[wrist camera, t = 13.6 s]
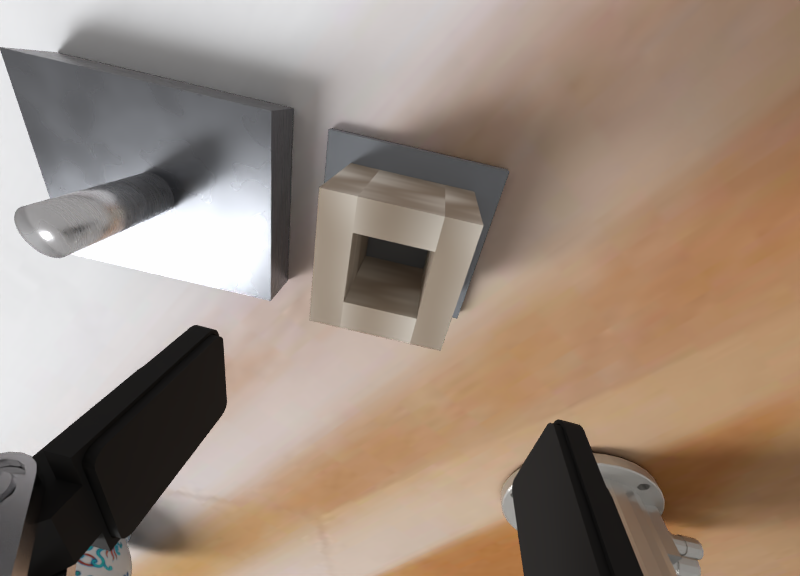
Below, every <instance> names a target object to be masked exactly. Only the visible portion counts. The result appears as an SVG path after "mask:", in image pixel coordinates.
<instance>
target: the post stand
mask: <svg viewBox="0 0 800 576" xmlns="http://www.w3.org/2000/svg"><path fill="white" fill-rule="evenodd" d="M0 50H1V53H2V56H3V59H4V62H5V65H6V68H7V71H8V74H9V77H10V80H11V83H12V86H13V89H14V92H15V95H16V98H17V101H18V104H19V107H20V110H21V113H22V116H23V119H24V122H25V125H26V128H27V131H28V134H29V137H30V140H31V143H32V146H33V149H34V152H35V155H36V158H37V161H38V164H39V167H40V169H41V172H42V175H43V178H44V181H45V184H46V187H47V190H48V193H49V196H50V199H48V200H44V201H41V202H37V203H33V204H30V205H26V206H23V207H20V208H18V209H17V211H16V212H15V216H14V220H15V224H16V227H17V229H18V231H19V233H20V234H21V236H22V237H23V238H24V240H25V241H26V242H27V243H28V244H29V245H31V246H32V247H33V248H34V249H36V250H37V251H39V252H40V253H42V254H44V255H47V256H50V257H54V258H62V257H65V256H67V255H69V254H72V255H77V256H81V257H85V258H90V259H94V260H98V261H102V262H107V263H111V264H115V265H119V266H124V267H128V268H132V269H137V270H141V271H145V272H149V273H154V274H158V275H162V276H166V277H171V278H175V279H179V280H183V281H188V282H192V283H196V284H201V285H205V286H209V287H213V288H218V289H222V290H226V291H230V292H235V293H239V294H243V295H247V296H252V297H256V298H260V299H265V300H269V301H271V300H272V299H273V297H274V296H275V295H276V294H277V293H278V291H279V290H280V289H281V288H282V287H283V285H284V284H285V283H286V282H287V281H288V259H289V229H290V200H291V170H292V141H293V111H294V108H291V107H287V106H283V105H278V104H274V103H270V102H265V101H261V100H257V99H253V98H248V97H244V96H240V95H236V94H231V93H227V92H223V91H219V90H214V89H210V88H206V87H202V86H197V85H193V84H189V83H185V82H180V81H176V80H172V79H167V78H163V77H159V76H155V75H150V74H146V73H142V72H138V71H133V70H129V69H125V68H121V67H116V66H112V65H108V64H104V63H99V62H95V61H91V60H87V59H82V58H78V57H74V56H69V55H65V54H61V53H57V52H47V51H36V50H25V49H14V48H3V47H0Z"/></svg>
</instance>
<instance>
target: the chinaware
mask: <svg viewBox="0 0 800 576" xmlns="http://www.w3.org/2000/svg"><path fill="white" fill-rule="evenodd" d="M130 537H131V534H130V535H129V536H128V537H127V538H125V539H120V540H119V541H118V543H117V544H116V545H115V547H114V548H113V549H112V550H111V552H110V551H107V550H103V549H100V548H96V547H93V546H90V547H89V549H88V550H87V551H86V552H85V553H84V555H83V556H82V557H81V558H80V559H79V561H78V562H77V563H76V571H75V576H131V573H132V562H131V555H130V551H129V548H128V546H127V542H128V541H129V539H130Z"/></svg>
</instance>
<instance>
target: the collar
mask: <svg viewBox="0 0 800 576" xmlns="http://www.w3.org/2000/svg"><path fill="white" fill-rule="evenodd" d="M482 229H483V222H482V218H481V214H480V211H479V207H478V203H477V200H476V196H475V192H474V191H470V190H465V189H461V188H457V187H452V186H448V185H444V184H439V183H435V182H431V181H426V180H422V179H418V178H413V177H409V176H405V175H400V174H396V173H392V172H387V171H383V170H379V169H375V168H370V167H366V166H362V165H357V164H353V163H350V164H349V165H347V166H346V167H345V168H344V169H342V170H341V171H340V172H338V173H337V174H336V175H335V176H333V177H332V178H331V179H329V180H328V181H327V182H326V183H324V184H323V185H322V186H320V187H319V196H318V210H317V223H316V237H315V250H314V264H313V277H312V291H311V304H310V318H309V321H314V322H318V323H322V324H327V325H331V326H335V327H339V328H344V329H348V330H352V331H357V332H361V333H365V334H370V335H374V336H378V337H383V338H387V339H391V340H396V341H400V342H404V343H408V344H413V345H417V346H421V347H426V348H430V349H434V350H439V351H441V348H442V345H443V343H444V340H445V337H446V334H447V331H448V328H449V325H450V322H451V319H452V316H453V313H454V310H455V307H456V305H457V302H458V299H459V296H460V293H461V290H462V287H463V284H464V281H465V278H466V275H467V272H468V269H469V267H470V264H471V261H472V258H473V255H474V252H475V249H476V246H477V243H478V240H479V237H480V234H481V232H482ZM369 237H373V238H377V239H382V240H386V241H390V242H395V243H399V244H403V245H408V246H412V247H416V248H420V249H425V250H428V253H427V256H426V260H425V264H424V268H423V269H421V268H417V267H413V266H408V265H404V264H400V263H395V262H391V261H387V260H382V259H378V258H374V257H369V256H366V252H367V245H368V239H369Z"/></svg>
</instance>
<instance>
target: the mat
mask: <svg viewBox="0 0 800 576" xmlns="http://www.w3.org/2000/svg"><path fill="white" fill-rule="evenodd" d="M350 163H353V164H357V165H362V166H366V167H370V168H375V169H379V170H383V171H387V172H392V173H396V174H400V175H405V176H409V177H413V178H418V179H422V180H426V181H431V182H435V183H439V184H444V185H448V186H452V187H457V188H461V189H465V190H470V191H474V192H475V196H476V200H477V203H478V207H479V211H480V214H481V218H482V222H483V229H482V232H481V234H480V237H479V240H478V243H477V246H476V249H475V252H474V255H473V258H472V261H471V264H470V267H469V269H468V272H467V275H466V278H465V281H464V284H463V287H462V290H461V293H460V296H459V299H458V302H457V305H456V307H455V310H454V313H453V316H452V317H453V318H457V317H458V315H459V312H460V309H461V306H462V303H463V301H464V298H465V295H466V292H467V289H468V286H469V284H470V281H471V278H472V275H473V272H474V270H475V267H476V264H477V261H478V258H479V256H480V253H481V250H482V247H483V244H484V242H485V239H486V236H487V233H488V230H489V228H490V225H491V222H492V219H493V216H494V213H495V211H496V208H497V205H498V202H499V199H500V197H501V194H502V191H503V188H504V185H505V183H506V180H507V177H508V174H509V171H508V170H507V169H504V168H499V167H495V166H491V165H487V164H482V163H478V162H474V161H469V160H465V159H461V158H457V157H452V156H448V155H444V154H440V153H435V152H431V151H427V150H423V149H418V148H414V147H410V146H406V145H401V144H397V143H393V142H388V141H384V140H380V139H376V138H371V137H367V136H363V135H359V134H354V133H350V132H346V131H342V130H337V129H333V128H332V129H329V131H328V143H327V155H326V167H325V179H324V183H326V182H327V181H328V180H329V179H331V178H332V177H333V176H335V175H336V174H337V173H338V172H340V171H341V170H342V169H344V168H345V167H346V166H347V165H349V164H350ZM427 253H428V250H425V249H420V248H416V247H412V246H408V245H403V244H399V243H395V242H390V241H386V240H382V239H377V238H373V237H369V239H368V245H367V252H366V256H369V257H374V258H378V259H382V260H387V261H391V262H395V263H400V264H404V265H408V266H413V267H417V268H421V269H423V268H424V264H425V260H426V256H427Z"/></svg>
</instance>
